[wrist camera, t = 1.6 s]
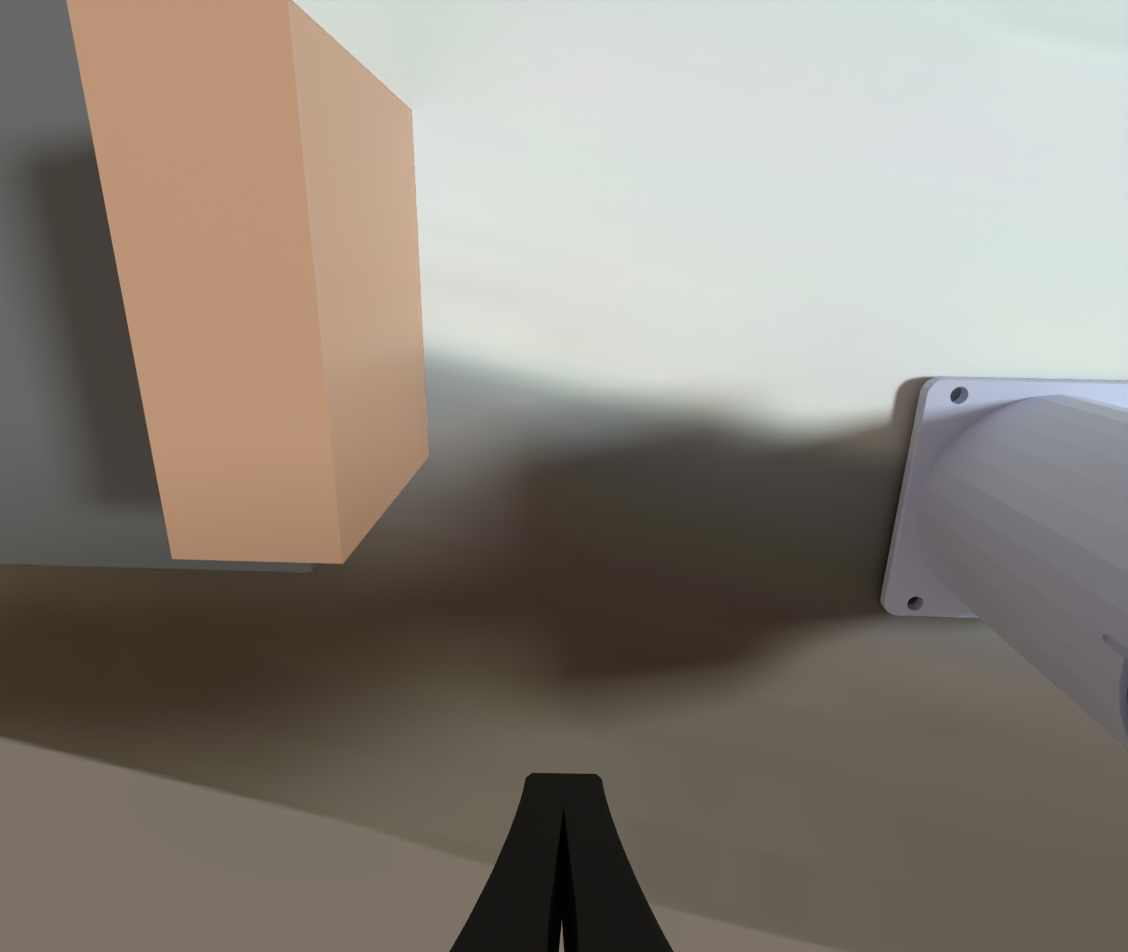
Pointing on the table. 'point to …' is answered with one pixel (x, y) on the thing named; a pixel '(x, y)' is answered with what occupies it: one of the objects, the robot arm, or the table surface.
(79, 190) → the mat
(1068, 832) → the table surface
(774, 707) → the table surface
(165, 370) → the terracotta block
